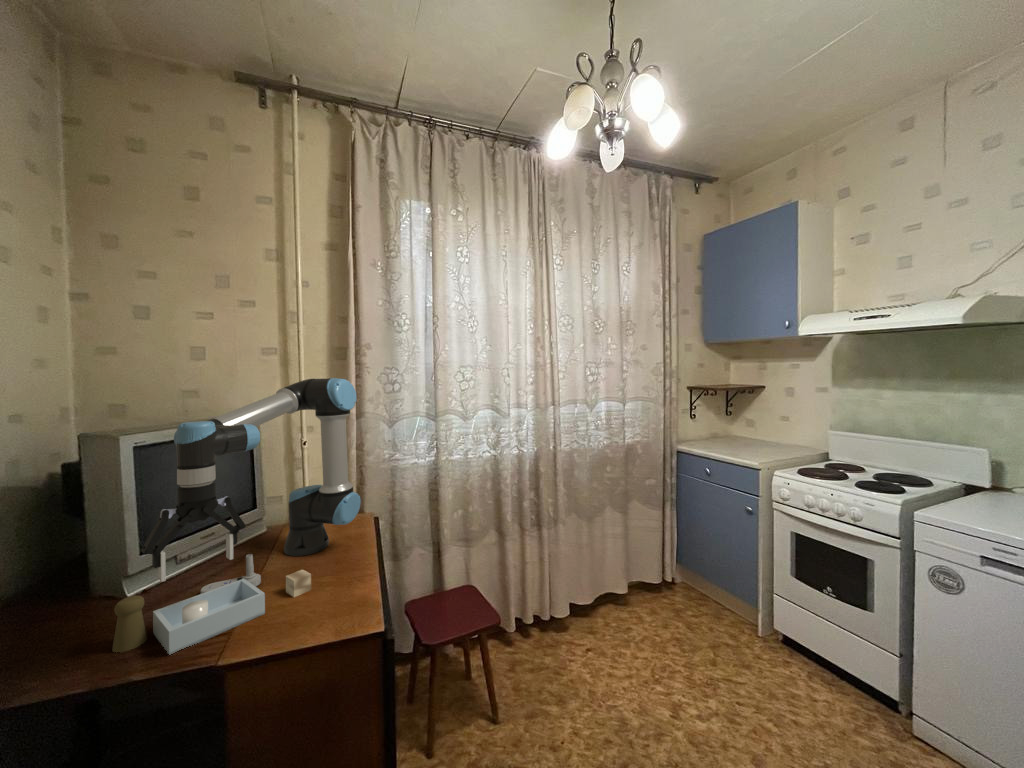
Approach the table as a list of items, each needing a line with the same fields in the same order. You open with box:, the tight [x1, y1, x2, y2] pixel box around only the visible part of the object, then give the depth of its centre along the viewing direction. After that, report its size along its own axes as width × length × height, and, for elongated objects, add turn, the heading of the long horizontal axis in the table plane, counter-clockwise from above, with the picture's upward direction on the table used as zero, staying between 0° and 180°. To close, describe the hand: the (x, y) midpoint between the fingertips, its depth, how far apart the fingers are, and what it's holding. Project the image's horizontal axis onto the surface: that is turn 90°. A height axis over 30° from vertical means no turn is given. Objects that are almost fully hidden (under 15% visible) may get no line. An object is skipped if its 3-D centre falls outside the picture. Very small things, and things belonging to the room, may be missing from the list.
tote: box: [152, 579, 266, 656], centre depth 101 cm, size 20×14×6 cm
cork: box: [111, 595, 148, 654], centre depth 94 cm, size 6×6×11 cm
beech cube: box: [285, 569, 312, 598], centre depth 117 cm, size 5×5×5 cm
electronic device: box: [200, 553, 262, 594], centre depth 118 cm, size 5×10×15 cm
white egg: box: [182, 600, 208, 624], centre depth 96 cm, size 5×5×7 cm
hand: (197, 568), depth 97 cm, fingers open, 13 cm apart
